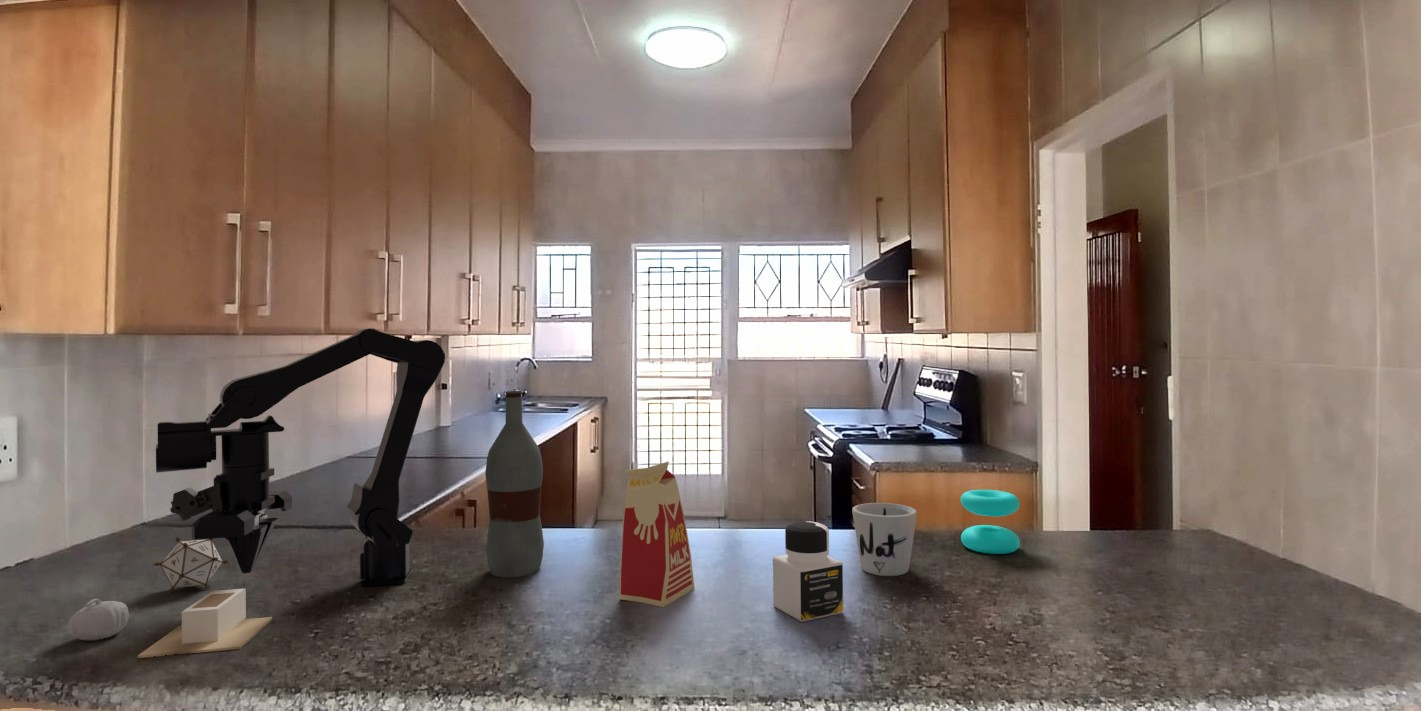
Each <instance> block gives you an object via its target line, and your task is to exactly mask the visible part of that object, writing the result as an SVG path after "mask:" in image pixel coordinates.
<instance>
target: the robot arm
mask: <svg viewBox="0 0 1421 711" xmlns="http://www.w3.org/2000/svg"><path fill="white" fill-rule="evenodd" d="M370 355H371V356H374V357H378V358H381V359H383V360H386V361H390V362H392V363H395V364H397V366H396V374H395V375H396V393H395V395H394V399H393V402H392V405H391V409H390V412H389V415H388V419H387V422H386V424H385V429H384V430H383V435H382V439H381V441H380V443H379V444H380V445H379V447H378V450H377V454H376V458H375V460H374V463H373V467H372V470H371V473H370V474H369V476H368V478H367V479H366V480H365V482H364V483H363V485H362V484H359V483H356V482H355V483H354V484H353V488H352V496H351V498H350V501H349V502H348V503H347V505H346V506H345V507H346V509H348V510H349V514H348V515H349V516H348V517H349V521H350V522H351V524H352V526H353V527H354V528H355V529H357V530H358V532H360V533H362V534H363V535H364V538H365V539H367V540H366V542H365V543H364V544H363V551H362V552H361V553H360V554H359V579H360V580H362V581H361V582H360V587H368V586H385V585H394V584H397V585H398V584H404V583H406V581H407V580H408V579H409V577H410V575H411V574H412V572H413V568H410V564H411V563H410V542H411V538H412V536H413V529H412V528H410V527H409V526H407V525H406V524H405V523H404V522H402V521H401V520H399V517H398V516H399V510H400V509H399V508H400V478H401V475H402V473H403V472H402V471H403V469H404V465H405V462H406V458H407V455H408V452H409V448H410V446H411V442H412V438H413V435H414V432H415V428H416V425H417V422H418V419H419V416H420V412H421V409H422V406H423V402H424V399H425V397H426V395H427V394H428V392H429V390H430V389H431V388H432V387H433V385H434V384H435V382H436V381H437V378H438V377H439V375H440V373H441V371H442V369H443V366H444V364H445V362H446V354H445V352H444V350H443V348H442V346H441V345H439V344H438V342H435V341H433V340H428V339H423V340H421V339H420V340H411V339H408V338H404V337H400V336H397V335H394V334H393V335H392V334H389V333H385V332H383V331H380V330H378V329H376V328H370V327H369V328H363V329H360V330H358V331H357V332H356V333H355V334H353V335H351V336H349V337H345V338H344V339H342V340H338V341H336V342H335V343H332V344H331V345H329V346H326V347H324V348H322V349H321V348H320V349H319V350H317V351H314V352H312V353H310V354H308V355H306V356H303V357H301V358H300V359H297V360H294V361H293V362H290V363H288V364H285V365H283V366H280V367H276V368H272V369H269V370H264V371H262V372H256V373H253V374H250V375H245V376H243V377H238V378H235V379H233V380H231V381H229V382H227V383H226V384H225V385H224V386H223V387H222V388H221V391H220V394H219V402H220V403H219V404H218V405H216V407H215V408H214V409H213V411H211V413H208V415H207V417H206V418H205V420H204V421H184V422H175V421H174V422H173V421H159V422H157V424H156V425H157V444H156V445H155V473H166V472H168V473H169V472H179V471H189V470H190V471H191V470H201V469H202V470H203V469H207V467H208V463H212V461H216V460H217V437H220V436H221V473H219V474H216V475H215V477H213V485H212V486H209V487H206V488H203V489H201V490H199V491H196V490H195V489H194V488H192V487H188V488H187V487H186V488H185V489H182V490H180V491H177V492H174V493H173V495H172V501H170V504H171V507H170V509H169V510H170V513H172V514H176V515H178V516H179V519H180V520H181V522H184V521H186V520H189V519H191V518H192V517H195V516H197V515H199V514H203V513H205V512H207V511H209V510H212V511H210V512H208V513H206V514H204V515H202V516H200V517H198V518H197V519H196V520H195V521H194V522H193V523H192V524H191V540H200V539H212V538H213V539H226V540H227V541H228V542H229V544H230V547H231V549H232V552H233V553H234V556H235V558H236V561H237V564H238V566H239V569H240V571H241V573H242V574H250V573H252V572H253V571H254V569H255V567H256V565H257V562H258V560H259V558H260V555H261V554H262V552H263V549H264V548H265V545H266V543H267V541H268V539H269V537H270V535H271V533H272V531H273V529H274V526H276V525H275V524H276V523H277V522H278V520H279V518H278V517H268V513H265V511H266V510H275V509H276V510H277V509H280V511H281V512H287V511H289V510H291V509H292V508H293V495H292V494H290V493H289V492H287V490H271V491H270V477H273V476H275V467H271V468H270V449H269V448H270V446H269V445H270V441H269V440H270V438H269V436H270V433H279V432H284V431H285V427H284V426H283V425H281V424H279V422H278V421H276V420H275V418H274V416H272V415H270V414H268V415H267V416H266V417H265V418H264V419H263V420H257V421H241V422H240V423H239V427H238V428H233V429H231V428H230V429H224V428H228V427H229V426H231V425H232V424H234V423H236V422H237V421H239V420H241V419H242V420H249V419H254V418H256V417H259V416H261V415H262V414H264V413H266V412H267V411H268V410H270V409H271V408H273V407H274V406H276V405H277V404H278V403H280V402H281V401H283V400H284V399H285V398H287V397H288V396H289V395H291V394H292V393H293V392H294V391H296V390H298V389H299V388H301V387H303V386H305V385H307V384H309V383H312V382H314V381H316V380H318V379H320V378H322V377H324V376H327V375H329V374H331V373H333V372H335V371H337V370H339V369H341V368H344V367H346V366H348V365H350V364H352V363H354V362H356V361H358V360H360V359H363V358H365V357H367V356H370ZM222 428H223V429H222ZM212 429H218V430H212ZM219 429H221V430H219ZM213 539H212V540H213Z"/></svg>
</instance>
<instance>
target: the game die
mask: <svg viewBox="0 0 1421 711" xmlns="http://www.w3.org/2000/svg"><path fill="white" fill-rule="evenodd" d="M213 540H214V538H212V539H196V540H194V539H190V540H181V539H180V537H177V536H176V537H175V542H177V543H175V545H174V546H173V547H172V548H171V550H170V551H169V552H168V553H167V554H166V556H165V557H164V558H163V559H162V561H161V562H159V561H158V562H157V561H156V562H155V563H153V564H152V565H153V566H155V567H159V566H160V568H161V570H162V571H163V573H164V576H165V578H166V579H167V581H168V583H169V585H170V586H171V587H170V588H169V590H168V594H171V593H173V591H174V590H175V589H181V588H191V587H199V586H200V587H201V586H204V589H206V590H210V584H208V583H209V582H210V580H211V579H212V578H213V576H214V575H215V574H216V573H217V571H218V570H219V569H220V567H221V566H222V565H223V564H226V565H227V564H228V563H230V561H228V559H227V560H223V559H222V557H221V554H220V553H219V551H218V548H217V546H216V544H215V543H214V541H213Z"/></svg>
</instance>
